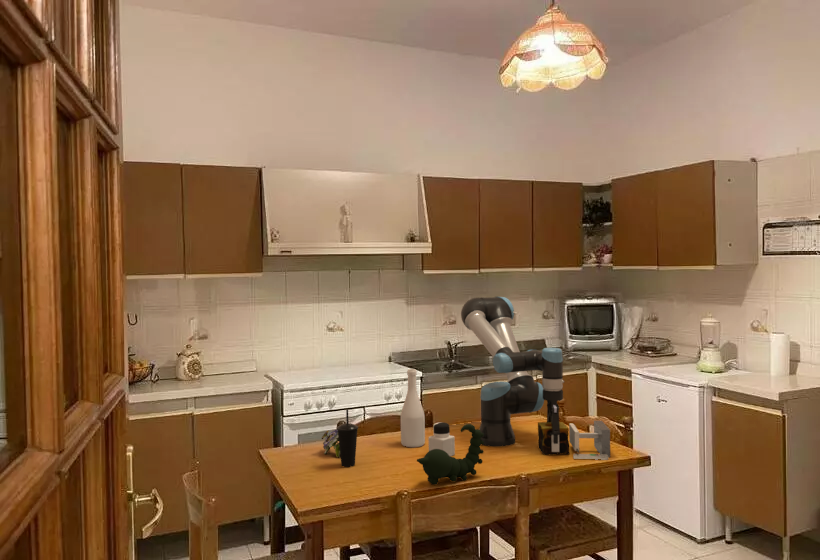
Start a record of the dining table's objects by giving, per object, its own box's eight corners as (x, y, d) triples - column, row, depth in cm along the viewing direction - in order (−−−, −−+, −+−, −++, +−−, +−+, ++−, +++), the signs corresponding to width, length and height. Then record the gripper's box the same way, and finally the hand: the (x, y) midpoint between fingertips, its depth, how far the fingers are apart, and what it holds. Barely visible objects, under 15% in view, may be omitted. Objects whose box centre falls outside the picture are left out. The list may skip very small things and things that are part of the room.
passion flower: (326, 468, 241) (317, 439, 247) (353, 459, 245) (343, 430, 250) (329, 458, 232) (319, 428, 237) (357, 449, 236) (347, 420, 241)
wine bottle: (429, 445, 251) (428, 369, 250) (409, 449, 245) (408, 372, 245) (416, 440, 259) (414, 366, 258) (396, 444, 253) (395, 369, 253)
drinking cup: (342, 469, 222) (341, 412, 221) (334, 463, 229) (333, 408, 228) (362, 466, 225) (361, 410, 225) (353, 460, 232) (353, 406, 232)
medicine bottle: (455, 455, 237) (454, 423, 237) (442, 459, 232) (442, 426, 232) (440, 451, 242) (440, 420, 242) (428, 455, 237) (427, 423, 236)
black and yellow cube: (569, 455, 235) (569, 428, 235) (542, 455, 235) (542, 428, 235) (564, 447, 245) (563, 421, 245) (537, 447, 245) (537, 421, 245)
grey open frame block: (574, 459, 229) (573, 432, 229) (566, 446, 246) (566, 420, 246) (612, 460, 228) (612, 432, 228) (602, 446, 245) (601, 420, 245)
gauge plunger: (576, 453, 230) (576, 434, 230) (569, 441, 246) (569, 423, 246) (608, 453, 229) (608, 434, 229) (599, 441, 245) (599, 423, 245)
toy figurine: (470, 475, 218) (407, 482, 206) (473, 420, 219) (411, 423, 206) (487, 483, 210) (422, 490, 198) (490, 426, 211) (426, 429, 198)
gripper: (567, 395, 228) (568, 456, 228) (558, 383, 251) (559, 439, 251) (546, 395, 229) (547, 456, 229) (539, 383, 251) (539, 439, 252)
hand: (553, 447), depth 240 cm, fingers closed on black and yellow cube, 10 cm apart
